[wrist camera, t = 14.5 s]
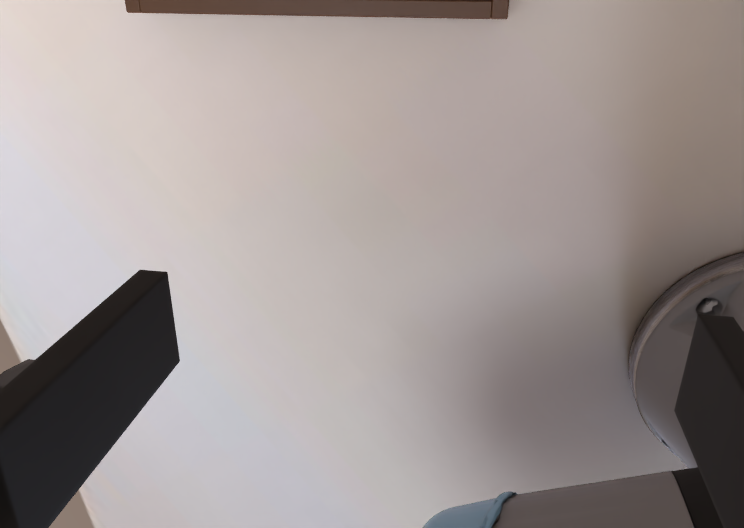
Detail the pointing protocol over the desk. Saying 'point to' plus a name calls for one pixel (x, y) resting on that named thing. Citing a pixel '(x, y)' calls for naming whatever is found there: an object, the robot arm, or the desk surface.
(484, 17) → the valet tray
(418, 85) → the desk surface
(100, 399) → the robot arm
